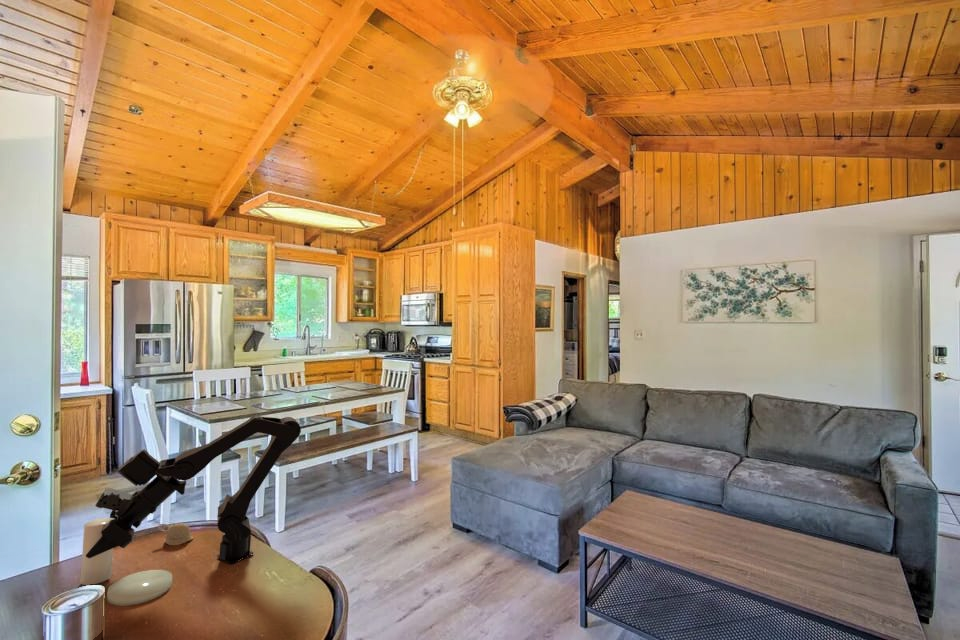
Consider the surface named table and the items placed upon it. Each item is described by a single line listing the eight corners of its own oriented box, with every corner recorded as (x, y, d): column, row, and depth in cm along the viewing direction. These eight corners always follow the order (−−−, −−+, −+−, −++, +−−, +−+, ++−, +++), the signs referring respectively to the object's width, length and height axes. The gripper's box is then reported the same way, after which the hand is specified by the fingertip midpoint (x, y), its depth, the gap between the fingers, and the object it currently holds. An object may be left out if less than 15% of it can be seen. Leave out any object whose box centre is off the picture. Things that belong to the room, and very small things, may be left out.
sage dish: (155, 570, 111) (156, 564, 112) (182, 586, 106) (183, 579, 106) (96, 594, 101) (97, 587, 101) (122, 612, 95) (123, 605, 95)
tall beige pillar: (104, 569, 109) (108, 515, 110) (116, 576, 107) (119, 521, 107) (75, 580, 105) (79, 524, 105) (86, 587, 102) (90, 530, 102)
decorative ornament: (187, 545, 125) (189, 525, 125) (154, 546, 124) (155, 526, 124) (194, 538, 129) (195, 519, 129) (161, 539, 128) (163, 520, 128)
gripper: (130, 465, 116) (71, 516, 110) (116, 489, 100) (46, 549, 94) (165, 492, 120) (109, 541, 114) (157, 518, 104) (92, 578, 98)
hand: (90, 551), depth 105 cm, fingers closed on tall beige pillar, 6 cm apart
